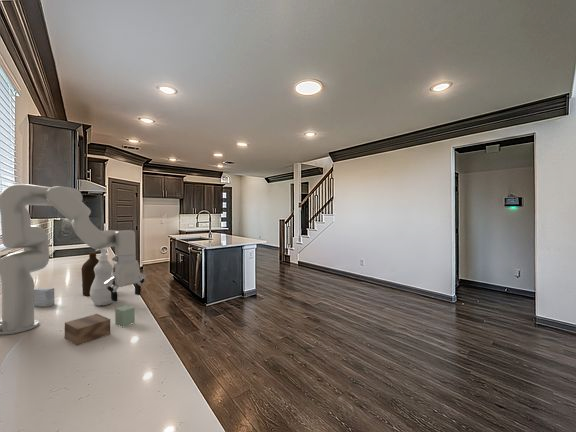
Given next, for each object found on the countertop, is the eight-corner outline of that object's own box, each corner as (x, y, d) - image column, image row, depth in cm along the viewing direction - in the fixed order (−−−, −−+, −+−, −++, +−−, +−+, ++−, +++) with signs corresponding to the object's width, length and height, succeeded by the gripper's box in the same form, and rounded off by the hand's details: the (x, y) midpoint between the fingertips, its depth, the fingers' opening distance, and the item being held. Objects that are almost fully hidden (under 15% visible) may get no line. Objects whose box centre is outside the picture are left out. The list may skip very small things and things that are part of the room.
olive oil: (107, 292, 162) (107, 251, 162) (89, 297, 152) (89, 253, 152) (95, 290, 166) (95, 250, 166) (77, 295, 156) (77, 252, 156)
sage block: (122, 327, 113) (122, 311, 113) (115, 324, 116) (115, 308, 116) (134, 323, 117) (134, 307, 117) (127, 320, 120) (127, 305, 120)
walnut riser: (77, 345, 97) (77, 329, 97) (64, 338, 103) (64, 322, 103) (110, 334, 106) (110, 319, 106) (96, 327, 112) (97, 313, 112)
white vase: (86, 302, 144) (86, 247, 144) (111, 297, 153) (111, 246, 152) (93, 310, 133) (94, 251, 132) (120, 304, 141) (120, 248, 141)
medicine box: (54, 304, 140) (54, 287, 140) (46, 307, 136) (46, 290, 136) (41, 303, 141) (41, 287, 141) (32, 306, 137) (32, 289, 137)
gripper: (108, 262, 107) (109, 305, 107) (149, 256, 122) (150, 293, 122) (99, 261, 111) (100, 302, 111) (140, 255, 126) (141, 291, 126)
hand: (126, 297), depth 117 cm, fingers open, 9 cm apart
